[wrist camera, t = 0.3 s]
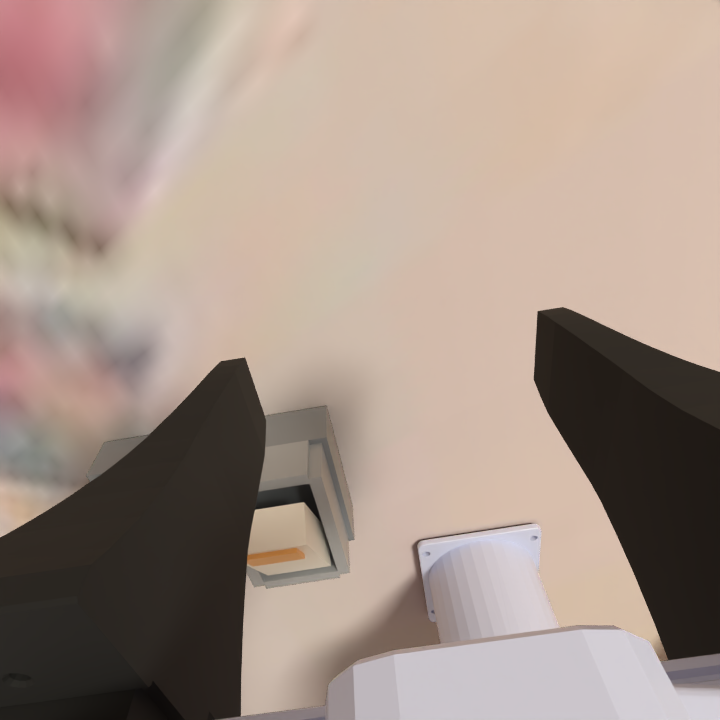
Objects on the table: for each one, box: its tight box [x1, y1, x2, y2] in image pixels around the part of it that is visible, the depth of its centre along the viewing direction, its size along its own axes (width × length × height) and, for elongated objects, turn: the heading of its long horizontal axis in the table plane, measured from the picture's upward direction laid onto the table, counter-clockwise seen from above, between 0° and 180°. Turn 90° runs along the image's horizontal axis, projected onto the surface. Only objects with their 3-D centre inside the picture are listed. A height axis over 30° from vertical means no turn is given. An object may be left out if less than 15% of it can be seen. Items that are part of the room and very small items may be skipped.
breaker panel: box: [86, 406, 354, 589], centre depth 26 cm, size 8×12×5 cm, turn 99°
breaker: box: [247, 502, 331, 575], centre depth 24 cm, size 6×3×2 cm, turn 9°
